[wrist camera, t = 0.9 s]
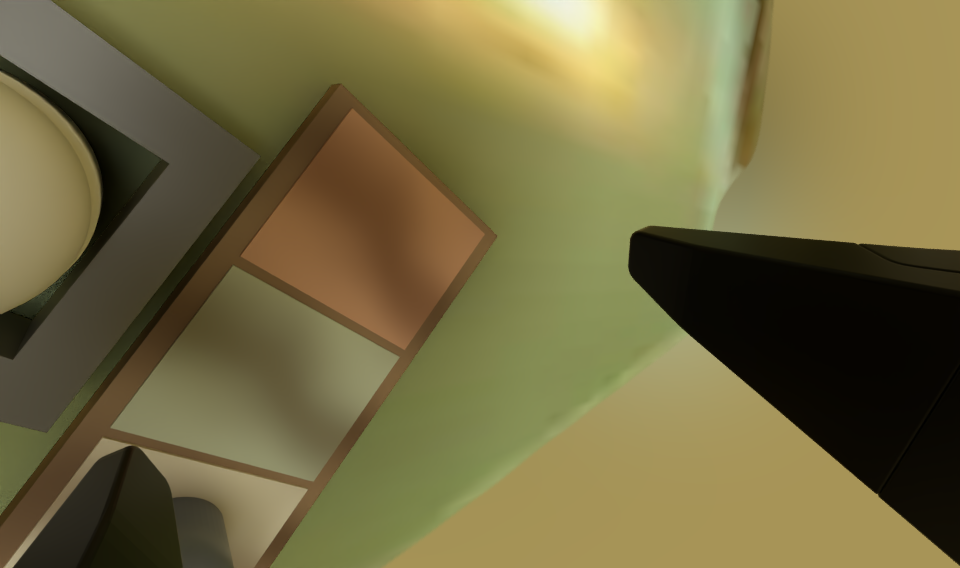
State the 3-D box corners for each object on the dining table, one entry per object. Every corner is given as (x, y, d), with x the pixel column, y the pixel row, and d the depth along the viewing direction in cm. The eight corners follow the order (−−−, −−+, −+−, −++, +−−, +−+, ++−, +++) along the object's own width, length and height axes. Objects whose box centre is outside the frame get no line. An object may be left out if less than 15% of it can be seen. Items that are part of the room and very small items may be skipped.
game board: (223, 611, 22) (226, 631, 21) (-64, 599, 15) (-76, 627, 14) (485, 232, 24) (498, 236, 23) (331, 84, 18) (342, 83, 17)
